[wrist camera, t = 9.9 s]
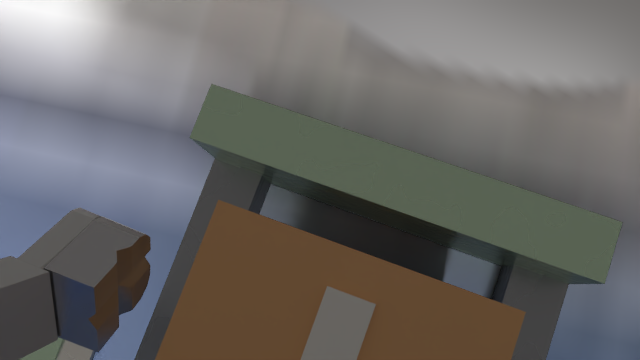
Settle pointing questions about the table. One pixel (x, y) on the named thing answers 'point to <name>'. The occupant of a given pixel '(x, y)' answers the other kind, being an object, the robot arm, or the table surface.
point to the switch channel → (385, 211)
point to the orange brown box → (322, 302)
